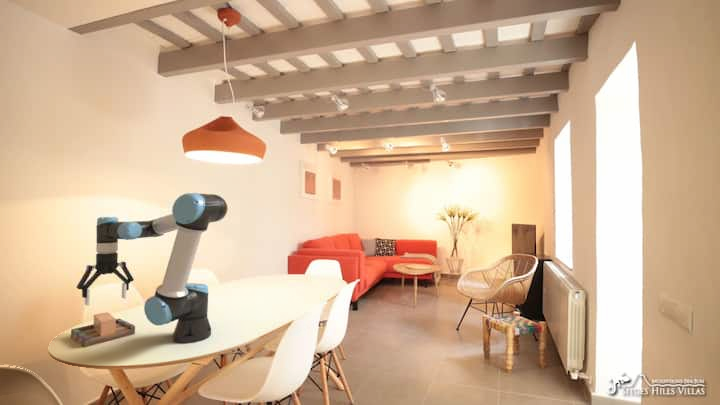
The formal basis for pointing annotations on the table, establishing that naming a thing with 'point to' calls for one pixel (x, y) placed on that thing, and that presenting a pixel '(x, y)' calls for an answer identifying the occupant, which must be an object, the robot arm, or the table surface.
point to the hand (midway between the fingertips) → (106, 301)
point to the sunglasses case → (104, 324)
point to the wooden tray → (91, 337)
